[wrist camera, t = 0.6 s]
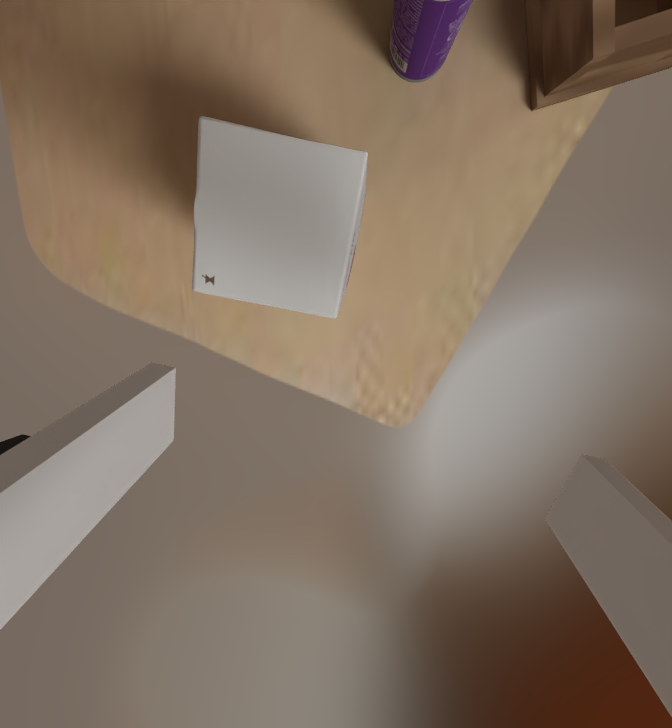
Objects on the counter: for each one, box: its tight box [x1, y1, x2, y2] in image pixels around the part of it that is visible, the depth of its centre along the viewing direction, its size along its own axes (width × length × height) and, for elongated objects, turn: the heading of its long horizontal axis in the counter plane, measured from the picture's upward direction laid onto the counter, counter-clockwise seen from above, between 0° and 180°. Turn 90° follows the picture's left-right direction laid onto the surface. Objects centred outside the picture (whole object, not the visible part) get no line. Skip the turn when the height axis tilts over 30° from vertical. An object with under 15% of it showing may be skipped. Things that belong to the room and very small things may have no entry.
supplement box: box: [192, 116, 368, 319], centre depth 25 cm, size 9×9×15 cm
